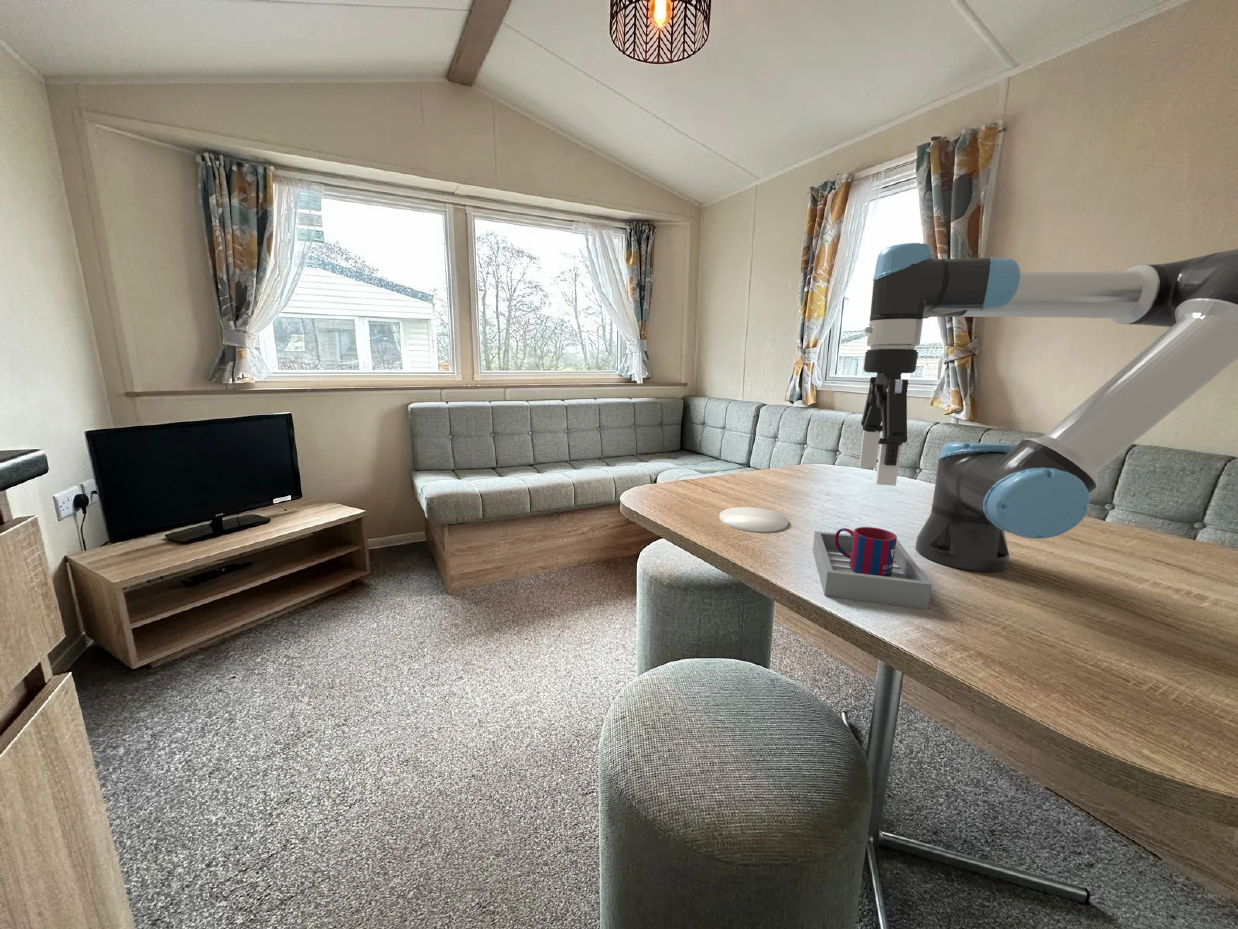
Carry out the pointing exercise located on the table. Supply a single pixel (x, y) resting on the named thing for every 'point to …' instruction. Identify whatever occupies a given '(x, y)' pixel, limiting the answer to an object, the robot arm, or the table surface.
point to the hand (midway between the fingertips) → (875, 475)
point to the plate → (753, 519)
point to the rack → (844, 582)
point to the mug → (870, 550)
